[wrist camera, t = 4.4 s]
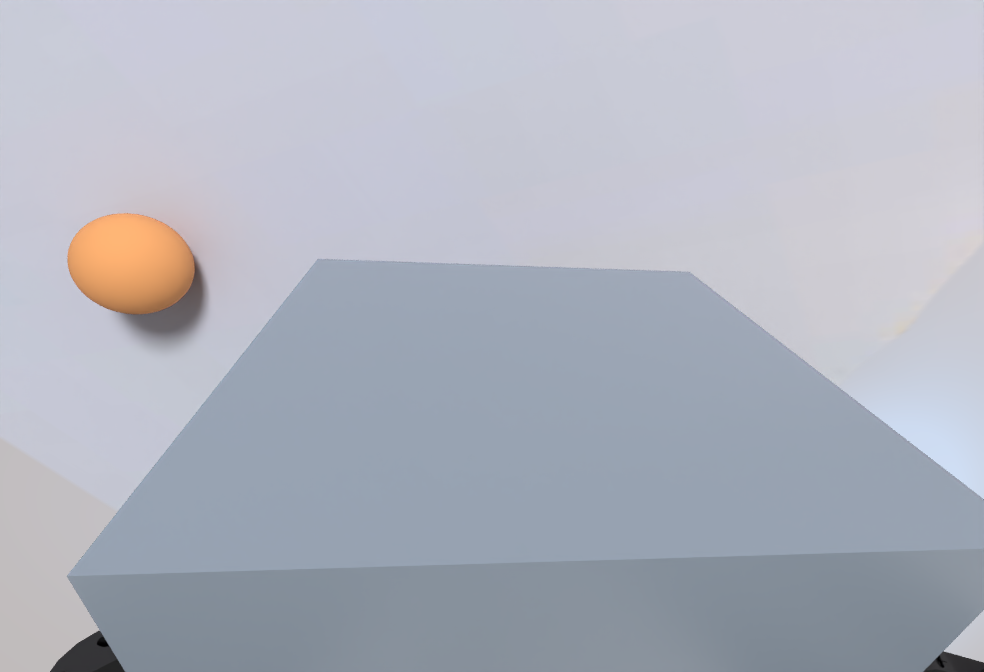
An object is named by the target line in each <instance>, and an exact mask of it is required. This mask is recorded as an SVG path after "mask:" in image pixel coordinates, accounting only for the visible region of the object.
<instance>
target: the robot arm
mask: <svg viewBox="0 0 984 672" xmlns="http://www.w3.org/2000/svg"><path fill="white" fill-rule="evenodd" d="M50 672H125V671H124V669H123V667H122V666H121V664H120V663H119V661H118V659H117V658H116V656H115V654H114V653H113V651H112V649H111V648H110V646H109V644H108V643H107V641H106V640H105V638H104V636H103V635H102V633H101V631H98V632H96V633H94V634H92V635H91V636H89V637H87V638H86V639H84V640H82V641H81V642H79V643H77V644H76V645H75V646H74V647H73V648H72V649H71V650H69V651H68V652H67V653H66V654H65V655H64V656H63V657H62V658H60V659H59V660H58V662H57V663H56V664H55V666H54V667H53V668H52V670H51V671H50ZM923 672H984V663H983V662H979V661H976V660H972V659H969V658H965V657H962V656H958V655H954V654H951V653H947V652H944V651H943V652H942V653H941V654H940V655H939V656H938V657H937V658H936V659H935V660H934V661H933V662H932V663H931V664H930V665H929V666H928V667H927V668H926V669H925V670H924V671H923Z"/></svg>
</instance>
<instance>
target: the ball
mask: <svg viewBox="0 0 984 672" xmlns="http://www.w3.org/2000/svg"><path fill="white" fill-rule="evenodd" d="M68 268H69V272H70V275H71V277H72V279H73V281H74V282H75V284H76V285H77V287H78V288H79V289H80V290H81V291H82V292H83V293H84V294H85V295H86V296H87V297H88V298H89V299H91V300H92V301H94V302H95V303H97V304H99V305H101V306H103V307H105V308H107V309H110V310H113V311H116V312H121V313H126V314H148V313H153V312H157V311H161V310H163V309H166V308H168V307H170V306H172V305H173V304H175V303H176V302H178V301H179V300H180V299H181V298H182V297H183V296H184V295H185V294H186V293H187V291H188V290H189V288H190V286H191V284H192V281H193V278H194V272H195V267H194V259H193V256H192V253H191V251H190V249H189V247H188V245H187V244H186V242H185V241H184V240H183V238H182V237H181V236H180V235H179V234H178V233H177V232H176V231H174V230H173V229H172V228H170V227H169V226H168V225H166V224H164V223H162V222H160V221H158V220H156V219H153V218H150V217H147V216H143V215H138V214H129V213H124V214H112V215H107V216H104V217H101V218H98V219H96V220H94V221H92V222H90V223H88V224H87V225H85V226H84V227H83V228H82V229H80V230H79V232H78V233H77V234H76V235H75V237H74V238H73V240H72V242H71V244H70V247H69V250H68Z"/></svg>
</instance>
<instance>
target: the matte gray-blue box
mask: <svg viewBox="0 0 984 672" xmlns="http://www.w3.org/2000/svg"><path fill="white" fill-rule="evenodd" d="M67 577H68V579H69V581H70V582H71V584H72V585H73V587H74V589H75V590H76V592H77V594H78V595H79V597H80V598H81V600H82V602H83V603H84V605H85V607H86V608H87V610H88V612H89V613H90V615H91V617H92V618H93V620H94V622H95V623H96V624H97V626H98V628H99V630H100V631H101V633H102V635H103V636H104V638H105V640H106V641H107V643H108V644H109V646H110V648H111V649H112V651H113V653H114V654H115V656H116V658H117V659H118V661H119V663H120V664H121V666H122V667H123V669H124V671H125V672H923V671H924V670H925V669H926V668H927V667H928V666H929V665H930V664H931V663H932V662H933V661H934V660H935V659H936V658H937V657H938V656H939V655H940V654H941V653H942V652H943V651H944V650H945V649H946V648H947V647H948V646H949V645H950V644H951V643H952V642H953V640H955V639H956V638H957V637H958V635H960V634H961V632H962V631H963V630H964V629H965V628H966V627H967V626H968V625H969V624H970V623H971V622H972V621H973V620H974V619H975V618H976V617H977V616H978V615H979V614H980V613H981V612H982V611H983V610H984V499H982V498H981V497H980V496H979V495H977V494H976V493H975V492H974V491H972V490H971V489H969V488H968V487H967V486H966V485H964V484H963V483H962V482H961V481H959V480H958V479H957V478H955V477H954V476H953V475H952V474H950V473H949V472H948V471H946V470H945V469H944V468H942V467H941V466H940V465H939V464H937V463H936V462H935V461H933V460H932V459H931V458H930V457H928V456H927V455H926V454H924V453H923V452H922V451H920V450H919V449H918V448H917V447H915V446H914V445H913V444H911V443H910V442H909V441H907V440H906V439H905V438H903V437H902V436H901V435H900V434H898V433H897V432H896V431H895V430H893V429H892V428H891V427H889V426H888V425H887V424H886V423H884V422H883V421H881V420H880V419H879V418H878V417H876V416H875V415H874V414H872V413H871V412H870V411H869V410H867V409H866V408H865V407H864V406H862V405H861V404H860V403H858V402H857V401H856V400H854V399H853V398H852V397H850V396H849V395H848V394H847V393H845V392H844V391H843V390H841V389H840V388H839V387H838V386H836V385H835V384H834V383H832V382H831V381H830V380H829V379H827V378H826V377H825V376H823V375H822V374H821V373H819V372H818V371H817V370H816V369H814V368H813V367H812V366H810V365H809V364H808V363H807V362H805V361H804V360H803V359H801V358H800V357H799V356H797V355H796V354H795V353H794V352H792V351H791V350H790V349H788V348H787V347H786V346H785V345H783V344H782V343H781V342H779V341H778V340H777V339H775V338H774V337H773V336H772V335H770V334H769V333H768V332H766V331H765V330H764V329H763V328H761V327H760V326H759V325H757V324H756V323H755V322H753V321H752V320H751V319H750V318H748V317H747V316H746V315H744V314H743V313H742V312H741V311H739V310H738V309H737V308H735V307H734V306H733V305H731V304H730V303H729V302H728V301H726V300H725V299H724V298H722V297H721V296H720V295H718V294H717V293H716V292H715V291H713V290H712V289H711V288H709V287H708V286H707V285H706V284H704V283H703V282H702V281H700V280H699V279H698V278H696V277H695V276H694V275H693V274H691V273H690V272H676V271H647V270H619V269H590V268H561V267H532V266H503V265H474V264H445V263H416V262H388V261H359V260H330V259H318V260H317V261H316V262H315V263H314V265H313V266H312V267H311V268H310V270H309V271H308V272H307V273H306V275H305V276H304V277H303V279H302V280H301V281H300V282H299V284H298V285H297V286H296V287H295V289H294V290H293V291H292V292H291V294H290V295H289V296H288V297H287V299H286V300H285V301H284V303H283V304H282V305H281V306H280V308H279V309H278V310H277V311H276V313H275V314H274V315H273V316H272V318H271V319H270V320H269V321H268V323H267V324H266V325H265V327H264V328H263V329H262V330H261V332H260V333H259V334H258V335H257V337H256V338H255V339H254V340H253V342H252V343H251V344H250V345H249V347H248V348H247V349H246V351H245V352H244V353H243V354H242V356H241V357H240V358H239V359H238V361H237V362H236V363H235V364H234V366H233V367H232V368H231V369H230V371H229V372H228V373H227V375H226V376H225V377H224V378H223V380H222V381H221V382H220V383H219V385H218V386H217V387H216V388H215V390H214V391H213V392H212V393H211V395H210V396H209V397H208V399H207V400H206V401H205V402H204V404H203V405H202V406H201V407H200V409H199V410H198V411H197V412H196V414H195V415H194V416H193V417H192V419H191V420H190V421H189V423H188V424H187V425H186V426H185V428H184V429H183V430H182V431H181V433H180V434H179V435H178V436H177V438H176V439H175V440H174V441H173V443H172V444H171V445H170V447H169V448H168V449H167V450H166V452H165V453H164V454H163V455H162V457H161V458H160V459H159V460H158V462H157V463H156V464H155V465H154V467H153V468H152V469H151V471H150V472H149V473H148V474H147V476H146V477H145V478H144V479H143V481H142V482H141V483H140V484H139V486H138V487H137V488H136V489H135V491H134V492H133V493H132V495H131V496H130V497H129V498H128V500H127V501H126V502H125V503H124V505H123V506H122V507H121V508H120V510H119V511H118V512H117V513H116V515H115V516H114V517H113V519H112V520H111V521H110V522H109V524H108V525H107V526H106V527H105V529H104V530H103V531H102V533H101V534H100V535H99V536H98V538H97V539H96V540H95V541H94V543H93V544H92V545H91V546H90V548H89V549H88V550H87V552H86V553H85V554H84V555H83V556H82V558H81V559H80V560H79V562H78V563H77V564H76V565H75V567H74V568H73V569H72V570H71V572H70V573H69V574H68V575H67Z"/></svg>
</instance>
